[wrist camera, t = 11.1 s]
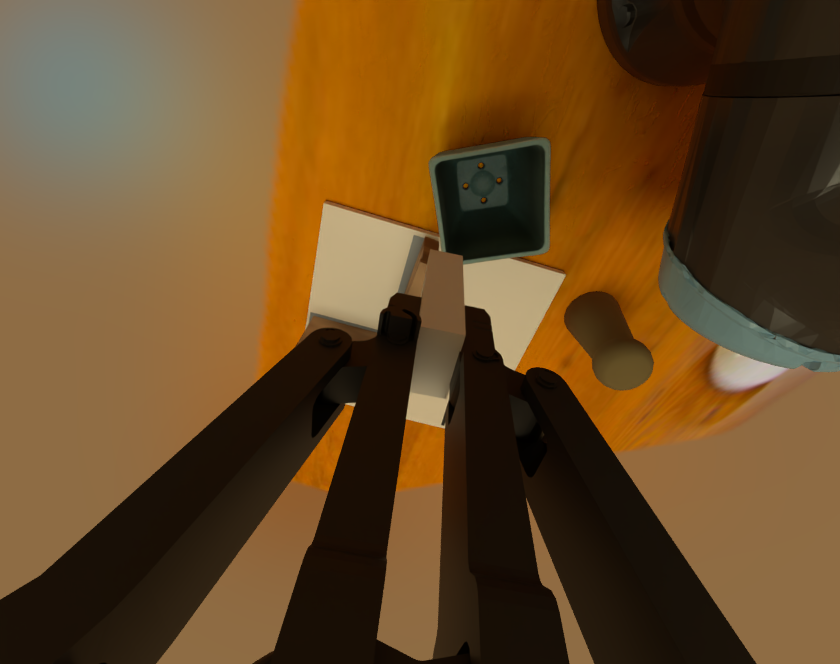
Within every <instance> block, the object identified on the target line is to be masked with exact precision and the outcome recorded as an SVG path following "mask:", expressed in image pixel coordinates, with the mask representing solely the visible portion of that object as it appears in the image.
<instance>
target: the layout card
mask: <svg viewBox="0 0 840 664" xmlns="http://www.w3.org/2000/svg"><path fill="white" fill-rule="evenodd" d="M425 236H426V237H428V238H431V239H434V240H437V241H439V251H441V243H440V236H439V234H437V233H434V232H430V231H427V230H424V229H420V228H417V227H414V226H410V225H407V224H404V223H400V222H397V221H393V220H390V219H387V218H383V217H380V216H377V215H373V214H370V213H367V212H363V211H360V210H357V209H353V208H350V207H346V206H343V205H340V204H336V203H333V202H330V201H325V202H324V205H323V212H322V219H321V226H320V233H319V240H318V247H317V254H316V260H315V267H314V274H313V281H312V288H311V295H310V302H309V309H308V316H307V323H306V328H307V326H308V324H309V323H310V321H311V319H312V317H313V316H316V317H320V318H324V319H328V320H331V321H335V322H339V323H343V324H346V325H350V326H354V327H358V328H362V329H365V330H369V331H373V332H377V330H378V323H379V317H380V312H381V311H382V310H383V309H385V308H387V307H388V303H389V300H390V297H392V296H393V295H394V294H396V293H397V292H398V293H403V294H404V293H405V290H406V288H407V285H408V282H409V279H410V277H411V274H412V271H413V268H414V266H415V263H416V260H417V257H418V255H419V252H420V249H421V247H422V244H423V241H424V238H425ZM565 276H566V274H565V273H564V271H561V270H558V269H555V268H551V267H548V266H544V265H541V264H538V263H534V262H531V261H528V260H524V259H521V258H518V257H515V258H506V259H499V260H493V261H485V262H479V263H473V264H466V265H463V277H464V303H465V305H466V306H471V307H476V308H481V309H485V311H486V312H487V313H488V314H489V316H490V318H491V326H492V332H493V339H494V345H495V350H497V351H498V352H499V353H500V354H501V356H502V358H503V362H504V365H505V366H507V367H508V368H510V369H512V370H514V371H515V369H516V367H517V365H518V363H519V362H520V360H521V358H522V356H523V354H524V352H525V350H526V349H527V347H528V345H529V343H530V341H531V339H532V337H533V336H534V334H535V332H536V330H537V328H538V326H539V324H540V322H541V321H542V319H543V317H544V315H545V313H546V311H547V309H548V308H549V306H550V304H551V302H552V300H553V298H554V296H555V294H556V293H557V291H558V289H559V287H560V285H561V283H562V281H563V280H564V278H565ZM305 330H306V329H305ZM448 400H449V392H448V396H447V399H443V398H438V397H433V396H428V395H423V394H417V393H412V392H410V395H409V401H408V408H407V415H406V419H408V420H412V421H416V422H420V423H424V424H429V425H433V426H437V427H441V428H445V425H444V426H442V425H441V423H442V420H443V417H444V414H445V410H446V407H447V404H448ZM346 404H347V405H351V406H355V404H356V403H346Z"/></svg>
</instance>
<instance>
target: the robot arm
mask: <svg viewBox="0 0 840 664" xmlns="http://www.w3.org/2000/svg"><path fill="white" fill-rule="evenodd" d="M597 4H598V15H599V21H600V26H601V30H602V33H603V36H604V39H605V42H606V44H607V46H608V48H609V50H610V52H611V54H612V55H613V57H614V58H615V60H616V61H617V62H618V63H619V64H620V65H621V66H622V67H623V68H624V69H625V70H626V71H627V72H628V73H630V74H631V75H633V76H634V77H636V78H638V79H640V80H642V81H644V82H647V83H650V84H655V85H660V86H692V85H698V84H703V83H706V86H705V90H704V93H703V94H702V98H701V102H700V106H699V110H698V114H697V118H696V122H695V126H694V130H693V134H692V138H691V142H690V145H689V149H688V153H687V157H686V161H685V165H684V169H683V173H682V177H681V180H680V184H679V187H678V191H677V195H676V198H675V202H674V206H673V209H672V213H671V217H670V219H669V220H668V222H667V224H666V227H665V229H664V232H663V242H664V250H663V255H662V260H661V265H660V269H659V277H658V280H659V288H660V291H661V294H662V295H663V297H664V298H665V300H666V301H667V302H668V304H669V307H670V309H671V310H672V311H673V313H674V314H675V315H676V316H677V317H678V318H680V319H681V320H682V321H683V322H684V323H685V324H686V325H688V326H689V327H690V328H692V329H693V330H694V331H696V332H697V333H699V334H700V335H702V336H703V337H705V338H707V339H709V340H710V341H712V342H714V343H716V344H718V345H720V346H722V347H724V348H726V349H729V350H731V351H733V352H735V353H738V354H740V355H743V356H746V357H748V358H751V359H754V360H757V361H761V362H764V363H768V364H771V365H775V366H780V367H784V368H790V369H795V368H798V367H799V366H801V365H803V366H804V367H806V368H808V369H810V370H812V371H814V372H837V371H840V0H597ZM410 392H412V393H417V394H423V395H428V396H433V397H438V398H443V399H447V396H448V392H449V400H448V404H447V407H446V410H445V414H444V417H443V420H442V423H441V425H442V426H444V425H445V444H444V472H443V501H442V528H441V556H440V584H439V612H438V613H439V614H438V630H437V637H436V643H435V648H434V653H433V659H432V660H426V661H418V660H416V659H413V658H411V657H409V656H407V655H406V654H404V653H402V652H400V651H398V650H396V649H394V648H392V647H390V646H388V645H386V644H384V643H383V642H381V641H379V640H377V632H378V625H379V618H380V611H381V604H382V597H383V589H384V582H385V574H386V564H387V559H386V555H387V546H388V539H389V532H390V526H391V519H392V512H393V505H394V498H395V491H396V484H397V477H398V471H399V464H400V457H401V450H402V443H403V436H404V429H405V422H406V415H407V408H408V401H409V395H410ZM346 403H356V404H355V407H354V410H353V414H352V417H351V420H350V423H349V427H348V430H347V433H346V436H345V440H344V443H343V446H342V449H341V453H340V456H339V459H338V462H337V466H336V469H335V472H334V475H333V479H332V482H331V485H330V488H329V492H328V495H327V498H326V501H325V505H324V508H323V511H322V514H321V518H320V521H319V524H318V527H317V530H316V534H315V537H314V540H313V542H312V544H311V545H310V546H309V547H308V549H307V551H306V554H305V556H304V559H303V562H302V565H301V568H300V571H299V574H298V577H297V580H296V583H295V587H294V590H293V593H292V596H291V599H290V602H289V605H288V609H287V612H286V615H285V618H284V621H283V624H282V627H281V631H280V634H279V637H278V640H277V643H276V646H275V650H274V651H273V652H271V653H269V654H267V655H265V656H264V657H262V658H261V659H259V660H257V661H255V662H254V663H253V664H569V659H568V654H567V649H566V643H565V638H564V633H563V628H562V622H561V618H560V612H559V609H558V605H557V601H556V598H555V596H554V595H553V593H552V591H551V590H550V589H548V588H546V587H544V586H543V585H542V583H541V581H540V578H539V574H538V569H537V562H536V557H535V550H534V544H533V538H532V532H531V526H530V520H529V514H528V508H527V502H526V498H527V501H528V503H529V505H530V508H531V510H532V513H533V515H534V517H535V520H536V522H537V525H538V527H539V530H540V532H541V535H542V537H543V539H544V542H545V544H546V547H547V549H548V552H549V554H550V557H551V559H552V561H553V564H554V566H555V569H556V571H557V573H558V576H559V578H560V581H561V583H562V586H563V588H564V591H565V593H566V596H567V598H568V600H569V603H570V605H571V608H572V610H573V613H574V615H575V617H576V620H577V622H578V625H579V627H580V630H581V632H582V635H583V637H584V639H585V642H586V644H587V646H588V649H589V652H590V654H591V657H592V659H593V661H594V664H756V662H755V661H754V660H753V658H752V657H751V655H750V654H749V652H748V651H747V649H746V648H745V646H744V645H743V643H742V642H741V640H740V639H739V637H738V636H737V635H736V633H735V632H734V630H733V629H732V627H731V626H730V624H729V623H728V621H727V620H726V618H725V617H724V615H723V614H722V612H721V611H720V609H719V608H718V607H717V605H716V604H715V602H714V601H713V599H712V598H711V596H710V595H709V593H708V592H707V590H706V589H705V587H704V586H703V585H702V583H701V581H700V580H699V578H698V577H697V575H696V574H695V572H694V571H693V569H692V568H691V566H690V565H689V564H688V562H687V561H686V559H685V558H684V556H683V555H682V553H681V552H680V550H679V549H678V548H677V546H676V544H675V543H674V541H673V540H672V538H671V537H670V536H669V534H668V533H667V531H666V530H665V528H664V527H663V525H662V524H661V522H660V521H659V519H658V518H657V516H656V515H655V513H654V512H653V510H652V509H651V507H650V506H649V504H648V503H647V502H646V500H645V499H644V497H643V496H642V494H641V493H640V492H639V490H638V488H637V487H636V485H635V484H634V482H633V481H632V479H631V478H630V476H629V475H628V473H627V472H626V471H625V469H624V468H623V466H622V465H621V463H620V462H619V460H618V459H617V457H616V456H615V454H614V453H613V451H612V450H611V448H610V447H609V445H608V444H607V442H606V441H605V439H604V438H603V437H602V435H601V434H600V432H599V431H598V429H597V428H596V426H595V425H594V423H593V422H592V420H591V419H590V417H589V416H588V414H587V413H586V411H585V410H584V408H583V407H582V405H581V404H580V403H579V401H578V400H577V398H576V397H575V395H574V394H573V392H572V391H571V389H570V388H569V386H568V385H567V383H566V382H565V381H564V380H563V379H562V377H561V376H559V375H558V374H556V373H555V372H553V371H551V370H548V369H545V368H539V367H536V368H531V369H529V370H527V372H526V375H524V374H521V373H519V372H517V371H514V370H512V369H510V368H508V367H507V366H505V365H504V362H503V358H502V356H501V354H500V353H499V352H498V351H497V350H495V345H494V339H493V332H492V326H491V318H490V316H489V314H488V313H487V312H486V311H485V309H481V308H476V307H471V306H466V305H465V303H464V277H463V256H461V255H456V254H451V253H446V252H441V251H437V250H432V249H430V253H429V258H428V262H427V267H426V272H425V277H424V281H423V286H422V291H421V296H420V297H417V296H412V295H407V294H403V293H398V292H397V293H396V294H394V295H393V296H392V297H390V300H389V303H388V307H387V308H385V309H383V310H382V311H381V312H380V317H379V323H378V330H377V336H376V337H374V338H372V339H369V340H365V341H352V338H351V336H350V335H349V334H348V333H347V332H345V331H343V330H341V329H337V328H321V329H317V330H315V331H313V332H312V333H310V334H309V335H308V336H307V337H306V338H305V339H304V340H303V341H302V342H300V343H299V344H298V345H297V346H296V347H295V348H294V349H293V350H291V351H290V352H289V353H288V354H287V355H286V356H285V357H284V358H283V359H281V360H280V361H279V362H278V363H277V364H276V365H275V366H274V367H273V368H271V369H270V370H269V371H268V372H267V373H266V374H265V375H264V376H262V377H261V378H260V379H259V380H258V381H257V382H256V383H255V384H254V385H252V386H251V387H250V388H249V389H248V390H247V391H246V392H245V393H243V395H241V396H240V397H239V398H238V399H237V400H236V401H235V402H234V403H233V404H231V405H230V406H229V407H228V408H227V409H226V410H225V411H223V412H222V413H221V414H220V415H219V416H218V417H217V418H216V419H214V420H213V421H212V422H211V423H210V424H209V425H208V426H207V427H206V428H204V429H203V430H202V431H201V432H200V433H199V434H198V435H197V436H196V437H194V438H193V439H192V440H191V441H190V442H189V443H188V444H187V445H185V446H184V447H183V448H182V449H181V450H180V451H179V452H178V453H177V454H175V455H174V456H173V457H172V458H171V459H170V460H169V461H168V462H166V464H164V465H163V466H162V467H161V468H160V469H159V470H158V471H156V472H155V473H154V474H153V475H152V476H151V477H150V478H149V479H148V480H146V481H145V482H144V483H143V484H142V485H141V486H140V487H139V488H137V489H136V490H135V491H134V492H133V493H132V494H131V495H130V496H129V497H127V498H126V499H125V500H124V501H123V502H122V503H121V504H120V505H118V506H117V507H116V508H115V509H114V510H113V511H112V512H111V513H110V514H108V515H107V516H106V517H105V518H104V519H103V520H102V521H101V522H100V523H98V524H97V525H96V526H95V527H94V528H93V529H92V530H91V531H90V532H88V533H87V534H86V535H85V536H84V537H83V538H82V539H81V540H80V541H78V542H77V543H76V544H75V545H74V546H73V547H72V548H71V549H70V550H68V551H67V552H66V553H65V554H64V555H63V556H62V557H61V558H59V559H58V560H57V561H56V562H55V563H54V564H53V565H52V566H50V567H49V568H48V569H47V570H46V571H45V572H44V573H43V574H42V575H40V576H39V577H37V578H36V579H34V580H32V581H31V582H29V583H27V584H25V585H24V586H22V587H20V588H19V589H17V590H16V591H14V592H12V593H11V594H9V595H7V596H6V597H4V598H2V599H1V600H0V664H156V663H157V661H158V660H159V659H160V658H161V657H162V655H163V654H164V653H165V652H166V650H167V649H168V648H169V646H170V645H171V644H172V643H173V641H174V640H175V639H176V637H177V636H178V634H179V633H180V632H181V630H182V629H183V628H184V626H185V625H186V624H187V622H188V621H189V619H190V618H191V617H192V615H193V614H194V613H195V611H196V610H197V608H198V607H199V606H200V604H201V603H202V602H203V600H204V599H205V598H206V596H207V595H208V593H209V592H210V591H211V589H212V588H213V586H214V585H215V584H216V583H217V581H218V580H219V578H220V577H221V576H222V574H223V573H224V572H225V570H226V569H227V567H228V566H229V565H230V563H231V562H232V561H233V559H234V558H235V557H236V555H237V554H238V552H239V551H240V549H241V548H242V547H243V545H244V544H245V543H246V541H247V540H248V539H249V537H250V536H251V535H252V533H253V532H254V530H255V529H256V528H257V526H258V525H259V524H260V522H261V521H262V520H263V518H264V517H265V515H266V514H267V513H268V511H269V510H270V508H271V507H272V506H273V504H274V503H275V502H276V500H277V499H278V498H279V496H280V495H281V493H282V492H283V491H284V489H285V488H286V487H287V485H288V484H289V483H290V481H291V480H292V478H293V477H294V476H295V474H296V473H297V472H298V470H299V469H300V468H301V466H302V465H303V463H304V462H305V461H306V459H307V458H308V457H309V455H310V454H311V452H312V451H313V450H314V448H315V447H316V446H317V444H318V443H319V442H320V440H321V439H322V437H323V436H324V435H325V433H326V432H327V431H328V429H329V428H330V426H331V425H332V424H333V422H334V421H335V420H336V418H337V417H338V415H339V414H340V413H341V411H342V410H343V409H344V406H345V404H346Z"/></svg>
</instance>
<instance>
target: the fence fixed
mask: <svg viewBox="0 0 840 664" xmlns="http://www.w3.org/2000/svg"><path fill="white" fill-rule="evenodd" d="M321 328H337V329H341V330H343V331H345V332H347V333H348V334H349V335H350V336H351V338H352V341H365V340H369V339H372V338H374V337H376V336H377V332H373V331H369V330H365V329H362V328H358V327H354V326H350V325H346V324H343V323H339V322H335V321H331V320H328V319H324V318H320V317H316V316H313V317H312V319H311V321H310V323H309V324H308V326H307V328H306V330H305V332H304V333H303V335H302V337H301V339H300V340H299V342H298V343H297V345H298V344H299V343H300V342H302V341H303V340H304V339H305V338H306V337H307V336H308V335H309V334H310V333H312V332H313V331H315V330H317V329H321ZM297 345H296V346H297Z"/></svg>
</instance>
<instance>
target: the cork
mask: <svg viewBox="0 0 840 664" xmlns="http://www.w3.org/2000/svg"><path fill="white" fill-rule="evenodd" d="M564 322H565V325H566V327H567V329H568V330H569V331H570V332H571V334H572V335H573V336H574V337H575V339H576V340H577V341H578V342H579V343H580V345H581V346H582V347H583V348H584V350H585V351H586V352H587V353H588V354H589V356H590V357H591V358H592V368H593V371H594V373H595V376H596V378H597V379H598V380H599V381H600V382H601V383H602V384H603V385H605V386H607V387H609V388H611V389H614V390H630V389H633V388H636V387H638V386H639V385H641V384H643V383H644V382H645V381H646V380H647V379H648V378H649V377H650V375H651V373H652V370H653V364H654V362H653V358H652V355H651V352H650V351H649V350H648V348H647V347H646V346H645V345H644V344H643V343H641V342H640V341H638V340H635V339H634V338H633V336H632V334H631V331H630V329H629V327H628V325H627V322H626V320H625V318H624V316H623V314H622V311H621V309H620V307H619V305H618V303H617V301H616V300H615V299H614V297H613V296H611V295H609V294H607V293H605V292H597V291H596V292H589V293H586V294H583V295H581V296H579V297H578V298H576V299H575V300H574V301H572V302H571V304H570V305H569V306H568V308H567V310H566V312H565V315H564Z"/></svg>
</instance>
